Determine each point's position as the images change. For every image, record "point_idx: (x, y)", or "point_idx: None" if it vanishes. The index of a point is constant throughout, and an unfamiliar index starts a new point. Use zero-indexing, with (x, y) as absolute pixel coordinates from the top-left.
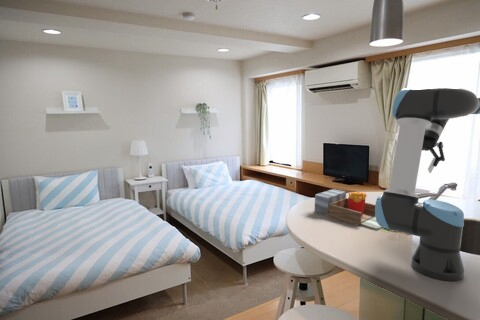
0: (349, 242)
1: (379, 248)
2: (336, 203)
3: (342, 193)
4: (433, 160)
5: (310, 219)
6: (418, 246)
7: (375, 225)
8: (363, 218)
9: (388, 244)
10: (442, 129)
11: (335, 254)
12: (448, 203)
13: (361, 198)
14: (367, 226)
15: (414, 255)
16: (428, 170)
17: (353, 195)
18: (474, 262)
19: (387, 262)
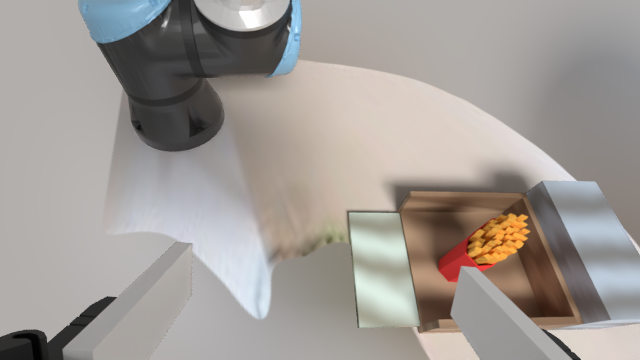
0: (348, 115)
1: (293, 128)
2: (535, 238)
3: (591, 283)
4: (107, 311)
5: (496, 162)
6: (205, 80)
7: (365, 229)
8: (420, 250)
9: (288, 156)
10: None
11: (334, 68)
12: (108, 2)
13: (475, 240)
14: (377, 213)
15: (214, 91)
16: (190, 262)
17: (502, 222)
18: (108, 194)
19: (258, 92)
